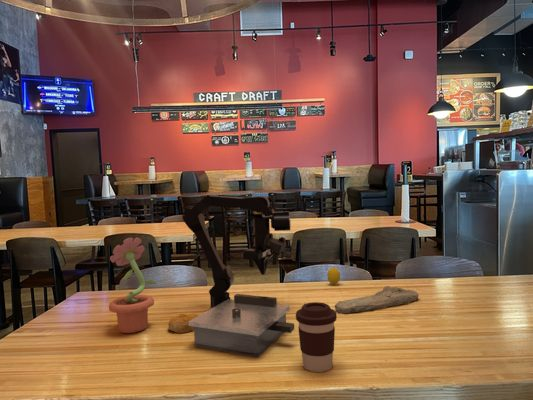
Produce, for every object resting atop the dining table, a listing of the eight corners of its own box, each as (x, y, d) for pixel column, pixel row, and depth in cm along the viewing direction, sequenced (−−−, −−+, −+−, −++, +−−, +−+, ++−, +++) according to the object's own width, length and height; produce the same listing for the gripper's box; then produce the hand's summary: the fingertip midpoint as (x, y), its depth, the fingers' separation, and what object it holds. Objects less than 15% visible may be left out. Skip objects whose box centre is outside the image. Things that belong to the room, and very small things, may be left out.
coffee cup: (294, 358, 101) (292, 301, 101) (332, 355, 102) (330, 298, 102) (301, 377, 92) (299, 314, 91) (342, 374, 92) (341, 311, 92)
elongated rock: (328, 312, 140) (344, 323, 131) (328, 298, 139) (343, 307, 130) (406, 293, 153) (425, 301, 144) (405, 280, 152) (425, 287, 143)
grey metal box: (194, 346, 111) (193, 325, 111) (230, 322, 129) (229, 304, 129) (278, 361, 100) (278, 338, 100) (305, 332, 118) (304, 313, 118)
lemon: (340, 286, 167) (339, 268, 167) (327, 286, 168) (326, 268, 168) (340, 283, 173) (340, 265, 172) (327, 283, 174) (327, 265, 173)
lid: (188, 325, 110) (188, 313, 110) (228, 302, 130) (228, 292, 130) (258, 335, 101) (258, 322, 101) (290, 309, 121) (289, 297, 121)
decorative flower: (146, 317, 137) (141, 232, 136) (166, 327, 127) (161, 235, 126) (103, 330, 127) (97, 238, 126) (121, 341, 117) (116, 241, 116)
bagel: (206, 323, 130) (205, 309, 130) (190, 336, 120) (189, 320, 120) (179, 321, 133) (178, 307, 133) (161, 333, 123) (161, 318, 123)
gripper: (269, 235, 127) (271, 282, 128) (293, 228, 144) (294, 270, 145) (240, 234, 133) (242, 279, 133) (266, 227, 149) (267, 268, 150)
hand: (263, 274), depth 140 cm, fingers closed
